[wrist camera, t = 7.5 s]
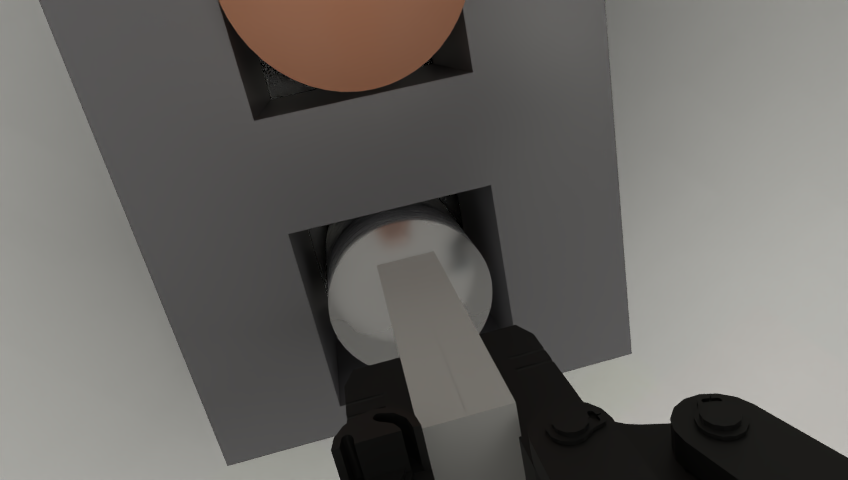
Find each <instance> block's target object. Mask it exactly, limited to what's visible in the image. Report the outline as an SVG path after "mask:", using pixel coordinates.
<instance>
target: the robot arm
mask: <svg viewBox="0 0 848 480" xmlns="http://www.w3.org/2000/svg"><path fill="white" fill-rule="evenodd" d="M377 268H378V272H379V276H380V280H381V285H382V289H383V293H384V297H385V301H386V305H387V309H388V313H389V317H390V321H391V325H392V329H393V333H394V337H395V341H396V345H397V349H398V353H399V358H395V359H392V360H388V361H384V362H380V363H377V364H373V365H369V366H365V367H362V368H358V369H354V370H353V371H352V373H351V375H350V377H349V379H348V381H347V382H346V384H345V386H344V389H345V403H346V416H347V423H346V424H345V425H343V427H342V428H341V429H340V430H339V432H338V433H337V434H336V436H335V437H334V440H333V444H332V448H331V452H332V455H333V458H334V461H335V464H336V467H337V470H338V474H339V477H340V480H848V458H847V457H845V456H844V455H842V454H840V453H838V452H837V451H835V450H833V449H831V448H830V447H828V446H826V445H824V444H823V443H821V442H819V441H817V440H816V439H814V438H812V437H810V436H809V435H807V434H805V433H803V432H801V431H800V430H798V429H796V428H794V427H793V426H791V425H789V424H787V423H786V422H784V421H782V420H780V419H779V418H777V417H775V416H773V415H772V414H770V413H768V412H766V411H765V410H763V409H761V408H759V407H758V406H756V405H754V404H752V403H750V402H747V401H745V400H742V399H740V398H738V397H734V396H728V395H722V394H699V395H696V396H692V397H689V398H686V399H684V400H682V401H681V402H680V403H679V404H678V405H676V406H675V407H674V409H673V412H672V415H671V418H670V420H671V424H644V425H637V424H623V423H618V422H615V421H614V420H613V418H612V417H611V416H610V415H608V414H607V413H606V412H605V411H604V410H602V409H601V408H599V407H596V406H594V405H591V404H589V403H585V402H583V401H582V400H581V398H580V397H579V396H578V394H577V393H576V392H575V390H574V389H573V387H572V386H571V385H570V383H569V382H568V381H567V379H566V378H565V376H564V375H563V374H562V372H561V371H560V370H559V368H558V367H557V365H556V364H555V363H554V362H552V359H551V357H550V356H549V354H548V353H547V352H546V350H544V348H543V346H542V345H541V343H540V342H539V341H538V339H537V338H536V337H535V335H534V334H533V333H531V332H529V331H527V330H525V329H523V328H521V327H519V326H517V325H513V326H509V327H505V328H501V329H498V330H494V331H490V332H486V333H483V334H478V332H477V330H476V328H475V326H474V324H473V322H472V321H471V319H470V317H469V315H468V313H467V311H466V310H465V308H464V306H463V304H462V302H461V300H460V298H459V297H458V295H457V293H456V291H455V289H454V287H453V286H452V284H451V282H450V280H449V278H448V276H447V274H446V273H445V271H444V269H443V267H442V265H441V263H440V262H439V260H438V258H437V256H436V254H435V252H434V251H432V252H428V253H424V254H420V255H416V256H412V257H408V258H404V259H400V260H396V261H392V262H388V263H384V264H380V265H377Z"/></svg>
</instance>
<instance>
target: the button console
mask: <svg viewBox="0 0 848 480" xmlns="http://www.w3.org/2000/svg"><path fill="white" fill-rule="evenodd" d="M39 2H40V4H41V7H42V9H43V12H44V14H45V16H46V19H47V21H48V24H49V26H50V29H51V31H52V34H53V36H54V39H55V41H56V44H57V46H58V49H59V51H60V53H61V56H62V58H63V61H64V63H65V66H66V68H67V71H68V73H69V76H70V78H71V81H72V83H73V86H74V88H75V90H76V93H77V95H78V98H79V100H80V103H81V105H82V108H83V110H84V113H85V115H86V118H87V120H88V123H89V125H90V127H91V130H92V132H93V135H94V137H95V140H96V142H97V145H98V147H99V150H100V152H101V155H102V157H103V160H104V162H105V164H106V167H107V169H108V172H109V174H110V177H111V179H112V182H113V184H114V187H115V189H116V192H117V194H118V197H119V199H120V201H121V204H122V206H123V209H124V211H125V214H126V216H127V219H128V221H129V224H130V226H131V229H132V231H133V234H134V236H135V238H136V241H137V243H138V246H139V248H140V251H141V253H142V256H143V258H144V261H145V263H146V266H147V268H148V271H149V273H150V275H151V278H152V280H153V283H154V285H155V288H156V290H157V293H158V295H159V298H160V300H161V303H162V305H163V308H164V310H165V312H166V315H167V317H168V320H169V322H170V325H171V327H172V330H173V332H174V335H175V337H176V340H177V342H178V345H179V347H180V349H181V352H182V354H183V357H184V359H185V362H186V364H187V367H188V369H189V372H190V374H191V377H192V379H193V382H194V384H195V386H196V389H197V391H198V394H199V396H200V399H201V401H202V404H203V406H204V409H205V411H206V414H207V416H208V419H209V421H210V423H211V426H212V428H213V431H214V433H215V436H216V438H217V441H218V443H219V446H220V448H221V451H222V453H223V456H224V458H225V460H226V463H227V465H228V466H229V465H233V464H236V463H240V462H243V461H247V460H251V459H254V458H258V457H261V456H265V455H269V454H272V453H276V452H279V451H283V450H287V449H290V448H294V447H297V446H301V445H305V444H308V443H312V442H315V441H319V440H323V439H326V438H330V437H333V436H336V434H337V433H338V432H339V430H340V429H341V428H342V427H343V425H345V424H346V423H347V416H346V403H345V389H344V386H345V384H346V382H347V381H348V379H349V377H350V375H351V373H352V371H353V370H354V369H358V368H362V367H365V366H369V365H367V364H365V363H363V362H362V361H360V360H358V359H357V358H356V357H354V356H353V355H352V354H351V353H350V352H349V351H348V350H347V349H346V348H345V347H344V346H343V344H342V343H341V342H340V340H339V339H338V337H337V335H336V333H335V332H334V329H333V327H332V324H331V321H330V316H329V309H328V297H327V294H326V290H325V287H324V283H323V280H322V276H321V273H320V269H319V266H318V262H317V259H316V255H315V252H314V248H313V245H312V241H311V238H310V234H309V231H308V229H311V228H315V227H319V226H324V225H328V224H332V223H336V222H340V221H344V220H348V219H353V218H357V217H361V216H365V215H369V214H373V213H377V212H381V211H386V210H390V209H394V208H398V207H402V206H406V205H410V204H414V203H419V202H423V201H427V200H431V199H435V198H439V197H443V196H448V195H452V194H456V193H457V196H458V201H459V207H460V212H461V218H462V223H463V229H464V232H465V234H466V235H467V236H468V237H469V239H470V240H471V241H472V243H473V244H474V245H475V247H476V248H477V249H478V251H479V252H480V253H481V255H482V257H483V258H484V260H485V262H486V264H487V267H488V269H489V272H490V276H491V280H492V303H491V308H490V312H489V315H488V318H487V320H486V323H485V325H484V327H483V329H482V330H481V332H480V333H479V334H483V333H486V332H490V331H494V330H498V329H501V328H505V327H509V326H513V325H517V326H519V327H521V328H523V329H525V330H527V331H529V332H531V333H533V334H534V335H535V337H536V338H537V339H538V341H539V342H540V343H541V345H542V346H543V348H544V350H546V352H547V353H548V354H549V356H550V357H551V359H552V362H554V363H555V364H556V365H557V367H558V368H559V370H560V371H561V372H562V373H564V372H567V371H571V370H574V369H578V368H582V367H585V366H589V365H592V364H596V363H599V362H603V361H607V360H610V359H614V358H617V357H621V356H625V355H628V354H632V352H631V339H630V326H629V313H628V299H627V286H626V273H625V260H624V247H623V234H622V220H621V207H620V194H619V181H618V168H617V155H616V141H615V128H614V115H613V102H612V89H611V76H610V63H609V49H608V36H607V23H606V10H605V0H465V3H464V6H463V8H462V11H461V13H460V16H459V18H458V20H457V22H456V24H455V26H454V28H453V30H452V31H451V33H450V35H449V36H448V38H447V39H446V40H445V42H444V43H443V45H442V46H441V47H440V49H439V50H438V51H437V52H436V53H435V54H434V55H433V56H432V59H433V64H431V65H426V66H422V67H420V68H418V69H417V70H416V71H414V72H412V73H411V74H409V75H408V76H406V77H404V78H403V79H400V80H398V81H396V82H394V83H392V84H389V85H386V86H383V87H379V88H376V89H372V90H365V91H359V92H338V91H330V90H323V89H317V90H312V91H308V92H303V93H299V94H294V95H289V96H285V97H280V98H276V99H270V95H269V92H268V88H267V85H266V81H265V78H264V74H263V71H262V67H261V64H260V60H259V57H258V55H257V54H256V53H255V52H254V51H253V50H251V49H250V48H249V46H248V45H247V44H246V43H245V42H244V41H243V39H242V38H241V37H240V36H239V35H238V33H237V32H236V30H235V29H234V27H233V26H232V24H231V23H230V21H229V20H228V18H227V16H226V14H225V12H224V10H223V8H222V6H221V4H220V2H219V0H39Z"/></svg>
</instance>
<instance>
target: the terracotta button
mask: <svg viewBox="0 0 848 480" xmlns="http://www.w3.org/2000/svg"><path fill="white" fill-rule="evenodd" d="M219 2H220V4H221V6H222V8H223V10H224V12H225V14H226V16H227V18H228V20H229V21H230V23H231V24H232V26H233V27H234V29H235V30H236V32H237V33H238V35H239V36H240V37H241V38H242V39H243V41H244V42H245V43H246V44H247V45H248V46H249V48H250V49H251V50H253V51H254V52H255V53H256V54H257V55H258V56H259V57H260V58H261V59H262V60H263V61H265V62H266V63H267V64H269V65H270V66H272V67H273V68H274V69H276V70H277V71H279V72H280V73H282V74H284V75H286V76H288V77H289V78H291V79H293V80H296V81H298V82H301V83H303V84H306V85H308V86H312V87H316V88H320V89H323V90H330V91H338V92H359V91H365V90H372V89H376V88H379V87H383V86H386V85H389V84H392V83H394V82H396V81H398V80H400V79H403V78H404V77H406V76H408V75H409V74H411V73H412V72H414V71H416V70H417V69H418V68H420V67H421V66H422V65H423V64H424V63H426V62H427V61H428V60H429V59H430V58H431V57H432V56H433V55H434V54H435V53H436V52H437V51H438V50H439V49H440V47H441V46H442V45H443V43H444V42H445V40H446V39H447V38H448V36H449V35H450V33H451V31H452V30H453V28H454V26H455V24H456V22H457V20H458V18H459V16H460V13H461V11H462V8H463V6H464V3H465V0H219Z"/></svg>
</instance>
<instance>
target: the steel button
mask: <svg viewBox="0 0 848 480" xmlns="http://www.w3.org/2000/svg"><path fill="white" fill-rule="evenodd" d="M432 251H434V252H435V254H436V256H437V258H438V260H439V262H440V263H441V265H442V267H443V269H444V271H445V273H446V274H447V276H448V278H449V280H450V282H451V284H452V286H453V287H454V289H455V291H456V293H457V295H458V297H459V298H460V300H461V302H462V304H463V306H464V308H465V310H466V311H467V313H468V315H469V317H470V319H471V321H472V322H473V324H474V326H475V328H476V330H477V332H478V334H479V333H480V332H481V330H482V329H483V327H484V325H485V323H486V320H487V318H488V315H489V312H490V308H491V303H492V280H491V276H490V272H489V269H488V267H487V264H486V262H485V260H484V258H483V257H482V255H481V253H480V252H479V251H478V249H477V248H476V247H475V245H474V244H473V243H472V241H471V240H470V239H469V237H468V236H467V235H466V234H465V232H464V231H463V230H462V228H461V227H460V226H459V224H458V223H457V222H456V220H455V219H454V218H453V216H452V215H451V214H450V212H449V211H448V210H447V209H446V207H445V206H444V205H443V203H442V202H441V201H440V200H439V199H438V198H435V199H431V200H427V201H423V202H419V203H414V204H410V205H406V206H402V207H398V208H394V209H390V210H386V211H381V212H377V213H373V214H369V215H365V216H361V217H357V218H353V219H348V220H344V221H340V222H336V223H332V224H330V225H329V227H328V231H327V236H326V261H327V287H328V309H329V316H330V321H331V324H332V327H333V329H334V332H335V333H336V335H337V337H338V339H339V340H340V342H341V343H342V344H343V346H344V347H345V348H346V349H347V350H348V351H349V352H350V353H351V354H352V355H353V356H354V357H356V358H357V359H358V360H360V361H362V362H363V363H365V364H367V365H373V364H377V363H380V362H384V361H388V360H392V359H395V358H399V353H398V349H397V345H396V341H395V337H394V333H393V329H392V325H391V321H390V317H389V313H388V309H387V305H386V301H385V297H384V293H383V289H382V285H381V280H380V276H379V272H378V268H377V265H380V264H384V263H388V262H392V261H396V260H400V259H404V258H408V257H412V256H416V255H420V254H424V253H428V252H432Z"/></svg>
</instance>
